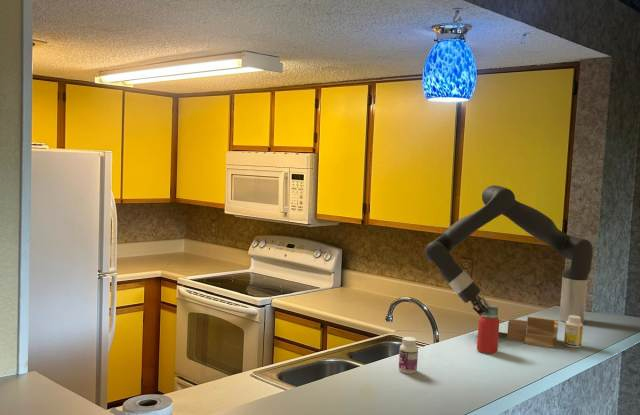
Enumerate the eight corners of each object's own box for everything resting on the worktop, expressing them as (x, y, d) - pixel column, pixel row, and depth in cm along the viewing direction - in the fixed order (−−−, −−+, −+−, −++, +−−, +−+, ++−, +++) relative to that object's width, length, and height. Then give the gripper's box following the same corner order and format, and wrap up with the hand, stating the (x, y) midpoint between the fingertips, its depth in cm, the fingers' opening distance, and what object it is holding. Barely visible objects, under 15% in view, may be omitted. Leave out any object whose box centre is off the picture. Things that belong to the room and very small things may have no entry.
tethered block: (485, 331, 230) (487, 304, 229) (526, 337, 225) (528, 309, 224) (483, 335, 224) (485, 308, 223) (524, 341, 219) (527, 313, 218)
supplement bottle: (576, 343, 220) (578, 314, 219) (584, 348, 214) (586, 318, 213) (560, 343, 219) (563, 314, 218) (568, 348, 214) (570, 318, 213)
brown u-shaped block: (526, 335, 227) (527, 316, 226) (556, 339, 223) (558, 320, 223) (524, 343, 217) (526, 323, 216) (556, 348, 213) (557, 327, 213)
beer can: (472, 351, 206) (475, 314, 205) (482, 347, 211) (485, 311, 210) (491, 356, 202) (493, 319, 201) (501, 351, 206) (503, 315, 205)
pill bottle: (394, 368, 186) (396, 336, 185) (410, 367, 188) (412, 335, 187) (404, 375, 181) (406, 342, 180) (420, 373, 183) (422, 340, 182)
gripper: (469, 284, 220) (503, 322, 217) (475, 277, 234) (506, 313, 230) (453, 297, 223) (486, 335, 220) (459, 289, 236) (490, 325, 233)
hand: (496, 324), depth 225 cm, fingers closed on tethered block, 4 cm apart
